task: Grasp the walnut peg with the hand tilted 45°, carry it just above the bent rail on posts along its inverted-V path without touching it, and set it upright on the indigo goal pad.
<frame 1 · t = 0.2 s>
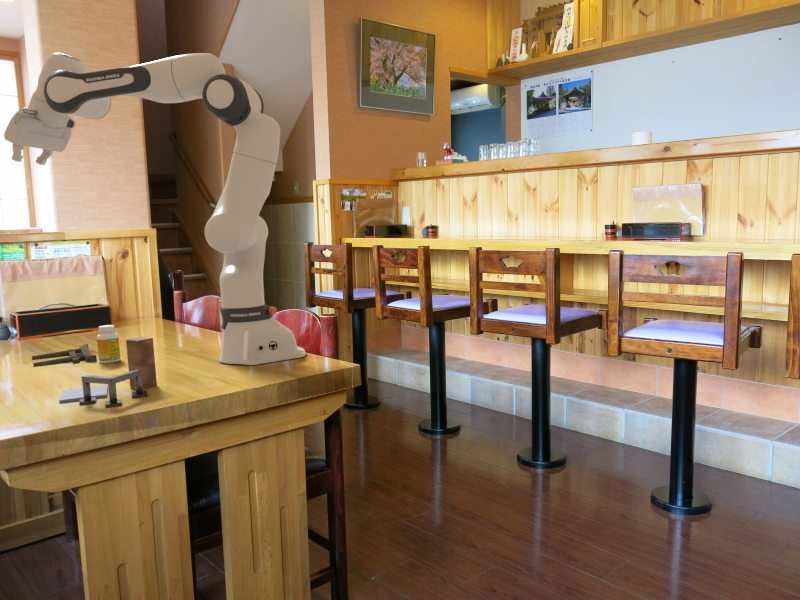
hand: (28, 162, 174), 54 cm above the table, tool tilted 30°, fingers open, 8 cm apart
bent rail on posts: (114, 401, 137), on the table
miniature torii gate: (63, 361, 185), on the table
supplement bottle: (110, 362, 179), on the table
goal pad: (84, 395, 143), on the table
walnut peg: (143, 386, 148), on the table
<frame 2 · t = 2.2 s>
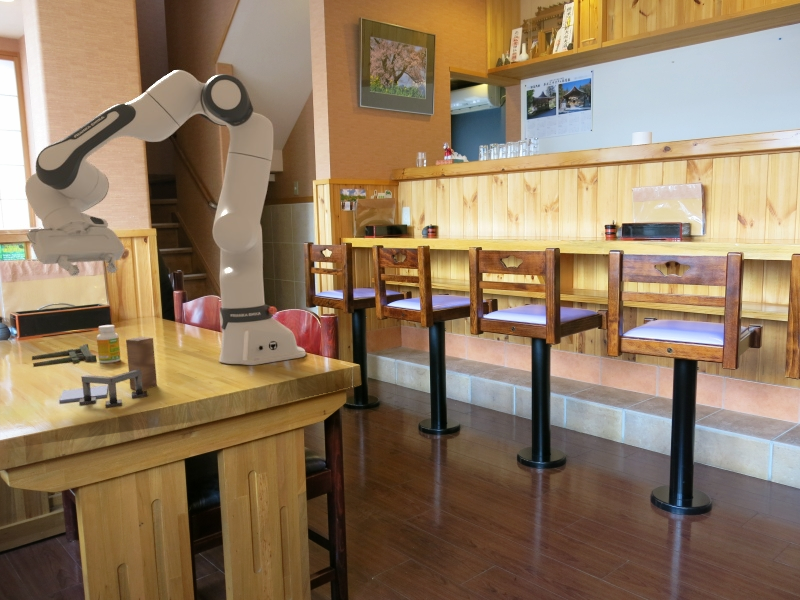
hand: (95, 272, 151), 26 cm above the table, tool tilted 45°, fingers open, 8 cm apart
nothing on the table moved.
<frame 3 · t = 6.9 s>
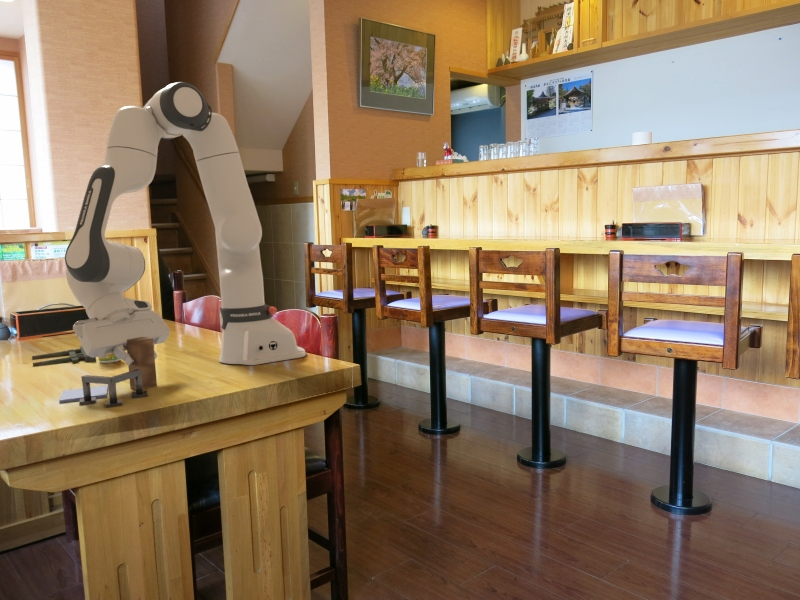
hand: (143, 361, 147), 6 cm above the table, tool tilted 45°, fingers closed on walnut peg, 4 cm apart
walnut peg: (143, 386, 148), on the table, touching gripper
everything else where it was.
when the fingers open (8 cm above the table, at t = 13.0 s): walnut peg drops 1 cm, resting on goal pad.
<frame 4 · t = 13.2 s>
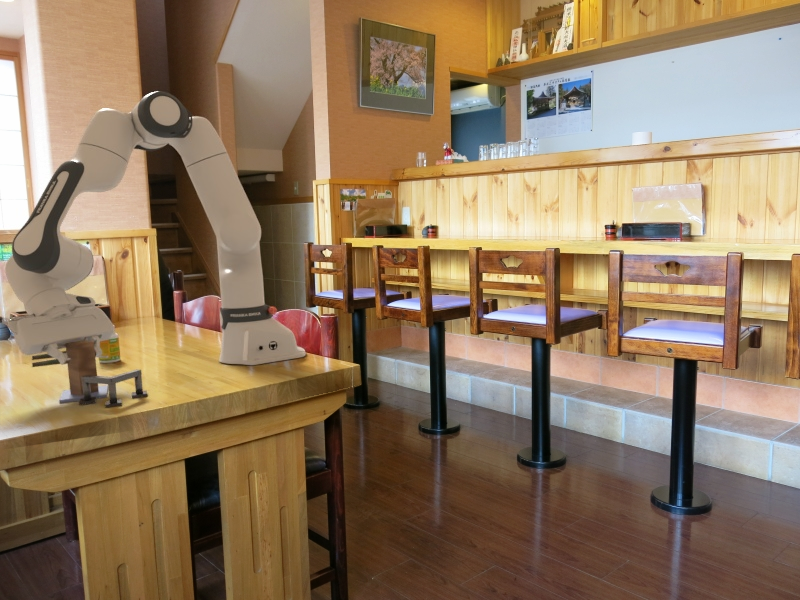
hand: (82, 358, 141), 8 cm above the table, tool tilted 45°, fingers open, 6 cm apart
walnut peg: (84, 392, 143), point 1 cm above the table, touching goal pad
everything else where it was.
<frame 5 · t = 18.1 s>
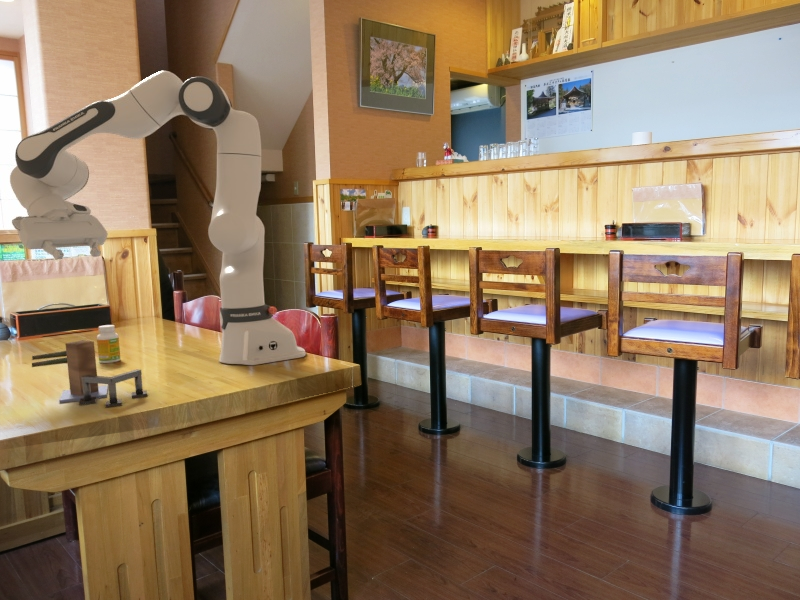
hand: (79, 256, 158), 29 cm above the table, tool tilted 45°, fingers open, 8 cm apart
nothing on the table moved.
at the end: walnut peg 0.0 cm off-centre on the goal pad, point 0.6 cm above the goal pad's base; walnut peg tilted 0°; walnut peg touching goal pad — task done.
